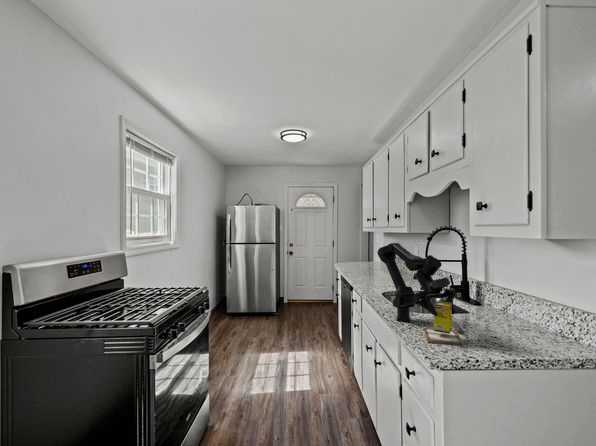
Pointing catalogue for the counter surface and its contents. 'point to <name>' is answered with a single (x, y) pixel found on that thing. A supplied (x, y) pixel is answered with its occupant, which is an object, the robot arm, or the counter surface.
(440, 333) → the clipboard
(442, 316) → the supplement box
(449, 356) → the counter surface
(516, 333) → the counter surface
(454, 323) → the dark grey rod
